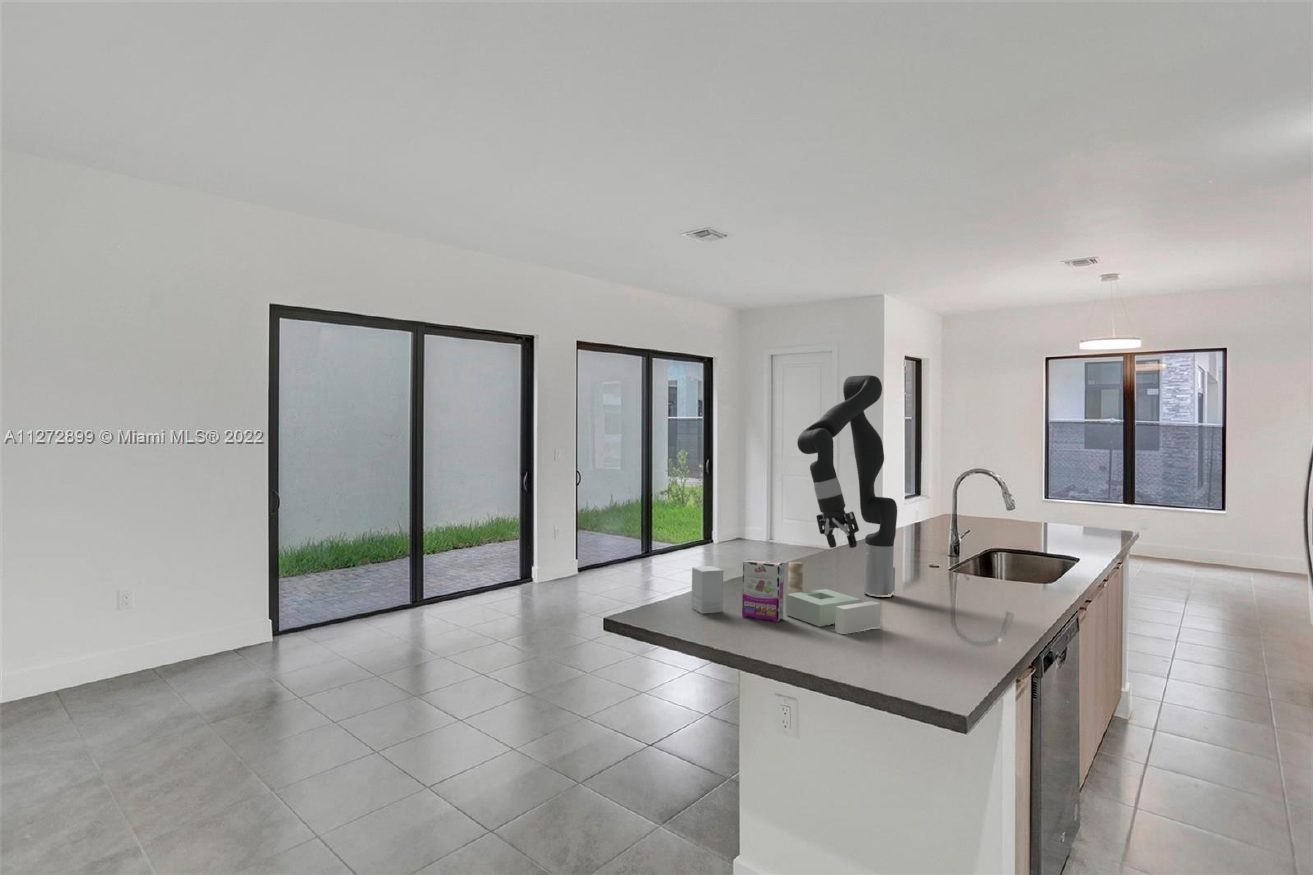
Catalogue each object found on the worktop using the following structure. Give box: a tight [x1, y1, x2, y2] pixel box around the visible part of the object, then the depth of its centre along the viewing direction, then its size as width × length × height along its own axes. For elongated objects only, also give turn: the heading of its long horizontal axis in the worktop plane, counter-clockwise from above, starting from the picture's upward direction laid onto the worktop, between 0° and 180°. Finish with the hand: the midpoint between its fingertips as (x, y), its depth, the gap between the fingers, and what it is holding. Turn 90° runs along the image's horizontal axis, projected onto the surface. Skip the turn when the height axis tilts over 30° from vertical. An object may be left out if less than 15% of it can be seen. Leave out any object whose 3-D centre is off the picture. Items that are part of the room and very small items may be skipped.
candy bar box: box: [741, 559, 785, 623], centre depth 196 cm, size 11×5×16 cm, turn 62°
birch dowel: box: [787, 561, 804, 594], centre depth 208 cm, size 4×4×14 cm
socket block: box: [785, 588, 862, 628], centre depth 197 cm, size 16×14×6 cm
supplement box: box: [690, 565, 724, 614], centre depth 203 cm, size 7×7×13 cm
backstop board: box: [834, 600, 881, 634], centre depth 186 cm, size 14×3×7 cm, turn 120°
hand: (843, 547), depth 200 cm, fingers open, 8 cm apart
